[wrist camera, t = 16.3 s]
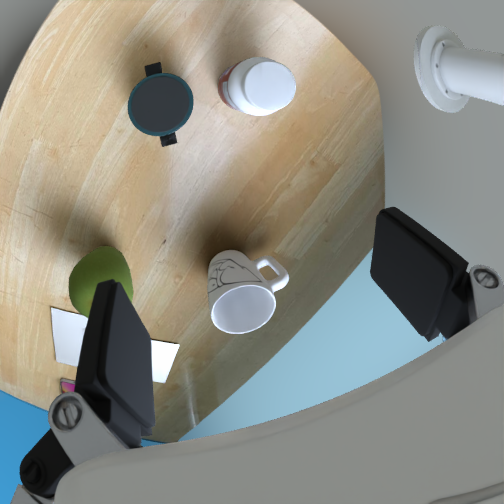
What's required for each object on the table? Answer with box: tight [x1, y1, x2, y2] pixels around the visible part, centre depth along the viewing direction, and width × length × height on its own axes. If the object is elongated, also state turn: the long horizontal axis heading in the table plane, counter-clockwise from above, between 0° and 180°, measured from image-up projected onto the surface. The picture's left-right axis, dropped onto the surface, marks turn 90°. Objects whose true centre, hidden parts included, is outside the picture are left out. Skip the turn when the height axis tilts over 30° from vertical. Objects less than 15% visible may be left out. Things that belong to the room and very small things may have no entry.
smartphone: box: [60, 379, 75, 393], centre depth 51 cm, size 7×1×15 cm
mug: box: [207, 250, 289, 334], centre depth 39 cm, size 11×8×10 cm
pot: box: [128, 62, 193, 147], centre depth 26 cm, size 7×9×6 cm
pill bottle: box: [218, 57, 296, 116], centre depth 26 cm, size 6×6×11 cm
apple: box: [69, 246, 133, 318], centre depth 32 cm, size 9×8×12 cm
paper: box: [51, 308, 179, 383], centre depth 46 cm, size 25×17×1 cm
